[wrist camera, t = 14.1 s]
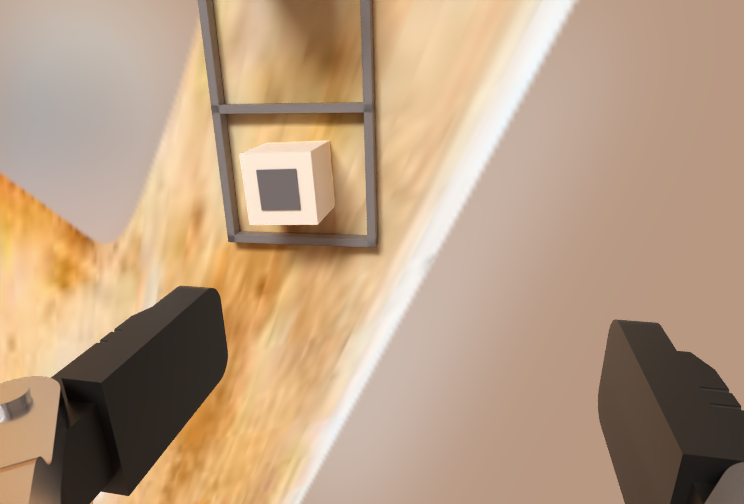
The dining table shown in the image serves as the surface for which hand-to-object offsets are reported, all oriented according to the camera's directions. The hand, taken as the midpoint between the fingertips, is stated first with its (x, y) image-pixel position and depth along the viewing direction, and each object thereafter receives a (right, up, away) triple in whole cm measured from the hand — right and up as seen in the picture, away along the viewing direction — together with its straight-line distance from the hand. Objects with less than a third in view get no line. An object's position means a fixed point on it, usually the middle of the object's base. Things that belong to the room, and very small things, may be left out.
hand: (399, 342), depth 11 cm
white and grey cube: (-6, +8, +29) cm, 31 cm away
